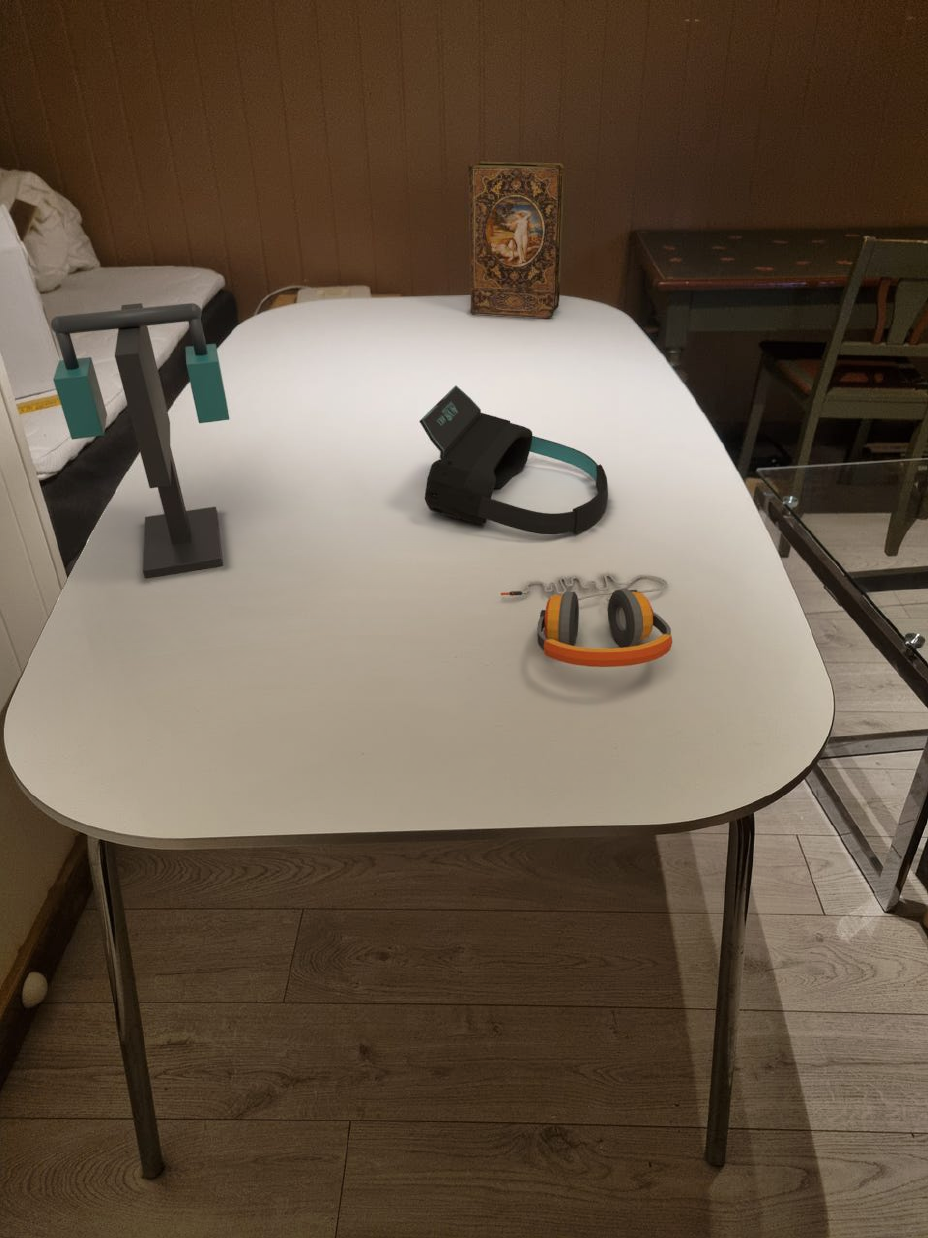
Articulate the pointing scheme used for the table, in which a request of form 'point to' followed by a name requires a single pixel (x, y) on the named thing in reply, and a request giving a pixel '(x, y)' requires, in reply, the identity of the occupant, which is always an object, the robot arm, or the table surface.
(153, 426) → the monitor
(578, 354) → the table surface
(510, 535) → the table surface
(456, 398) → the virtual reality headset
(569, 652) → the headphones
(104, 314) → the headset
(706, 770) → the table surface
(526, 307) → the book
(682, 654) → the table surface
